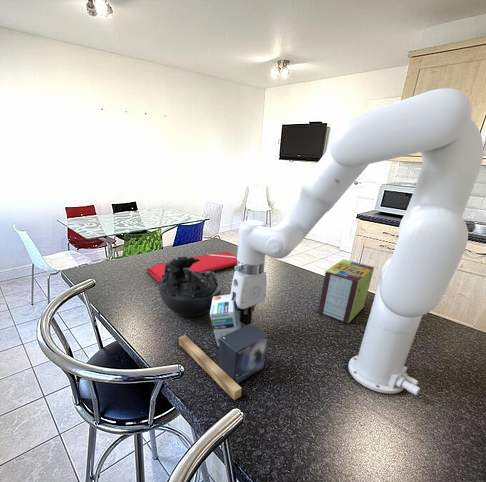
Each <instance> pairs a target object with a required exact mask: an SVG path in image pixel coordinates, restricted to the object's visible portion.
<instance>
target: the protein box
mask: <svg viewBox="0 0 486 482" xmlns="http://www.w3.org/2000/svg"><path fill="white" fill-rule="evenodd" d="M374 269H375V267H374V266H372V265H367V264H364V263H360V262H357V261H352V260H348V259H344V258H343V259H341V260H340V261H338V262H337V263H335V264H334V265H333V266H331V267H329V268H328V269H327V270H325V272H324V278H323V283H322V289H321V294H320V300H319V305H318V311H317V313H319V314H321V315H325V316H326V317H330V318H333V319H335V320H337V321H339V322H342V323H345V324H346V325H347V324H349V323H351V321H352V320H353V319H354V318H355V317H356V316H357V315H358V314H359V313H360V312H361V310H362V309H363V308H364V307H365V304H366V299H367V296H368V293H369V289H370V285H371V281H372V277H373V273H374Z"/></svg>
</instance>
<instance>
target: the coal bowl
mask: <svg viewBox="0 0 486 482" xmlns="http://www.w3.org/2000/svg"><path fill="white" fill-rule="evenodd" d="M194 257H195V256H190V257H188V256H186V255H185V256H178V257H177V258H172V259H171V260H170V261H168V263H167V264H165V270H164V274H163V275H162V280H161V283H159V285H158V292H159V295H160V299H161V300H162V302H163V304H164V305H165V306H166V308H168V309H169V310H170V311H172V312H173V313H175V314H177V315H180V316H182V317H183V316H184V317H198V316H200V315H201V316H202V315H203V314H205V313H207V312H208V311H210V310H211V305H212V299H213V296H221V292H222V285H221V282H220V281H219V280H218V278H217V276H216V272H215V271H214V270H213V269H211V270H210V271H205V272H197V271H191V270H190V269H189V268H190V267H191V266H192V265H193V263H196V262H198V261H200V260H199V259H195V258H194Z"/></svg>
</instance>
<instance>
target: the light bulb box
mask: <svg viewBox="0 0 486 482" xmlns="http://www.w3.org/2000/svg"><path fill="white" fill-rule="evenodd" d="M230 296H231V293H229V294H222V295H219V296H213V299H212V305H211V309H209V317H210V321H211V325H212V329H213V333H214V337H215V340H216V346H217V347H218V348H219V338H220V337H222V336H224V335H227V334H229V333H231V332H233V331H235V330H237V329H240V328H242V323H241V322H240V314H239V311H236V309H235V306H234V301H233V300H234V298H232V300H230Z"/></svg>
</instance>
